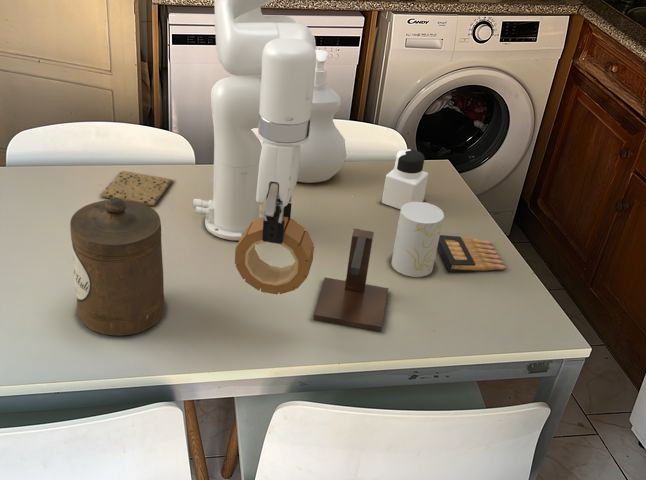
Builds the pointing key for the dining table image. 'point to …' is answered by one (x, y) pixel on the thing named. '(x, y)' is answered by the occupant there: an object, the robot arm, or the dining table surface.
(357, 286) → the hook stand
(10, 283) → the dining table surface
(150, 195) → the tan flat square slab
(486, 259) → the ammunition clip
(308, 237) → the segmented brown cylinder
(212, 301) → the dining table surface
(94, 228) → the wooden container
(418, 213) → the cup
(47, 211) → the dining table surface
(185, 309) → the dining table surface
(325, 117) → the soap bottle
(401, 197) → the medicine bottle
